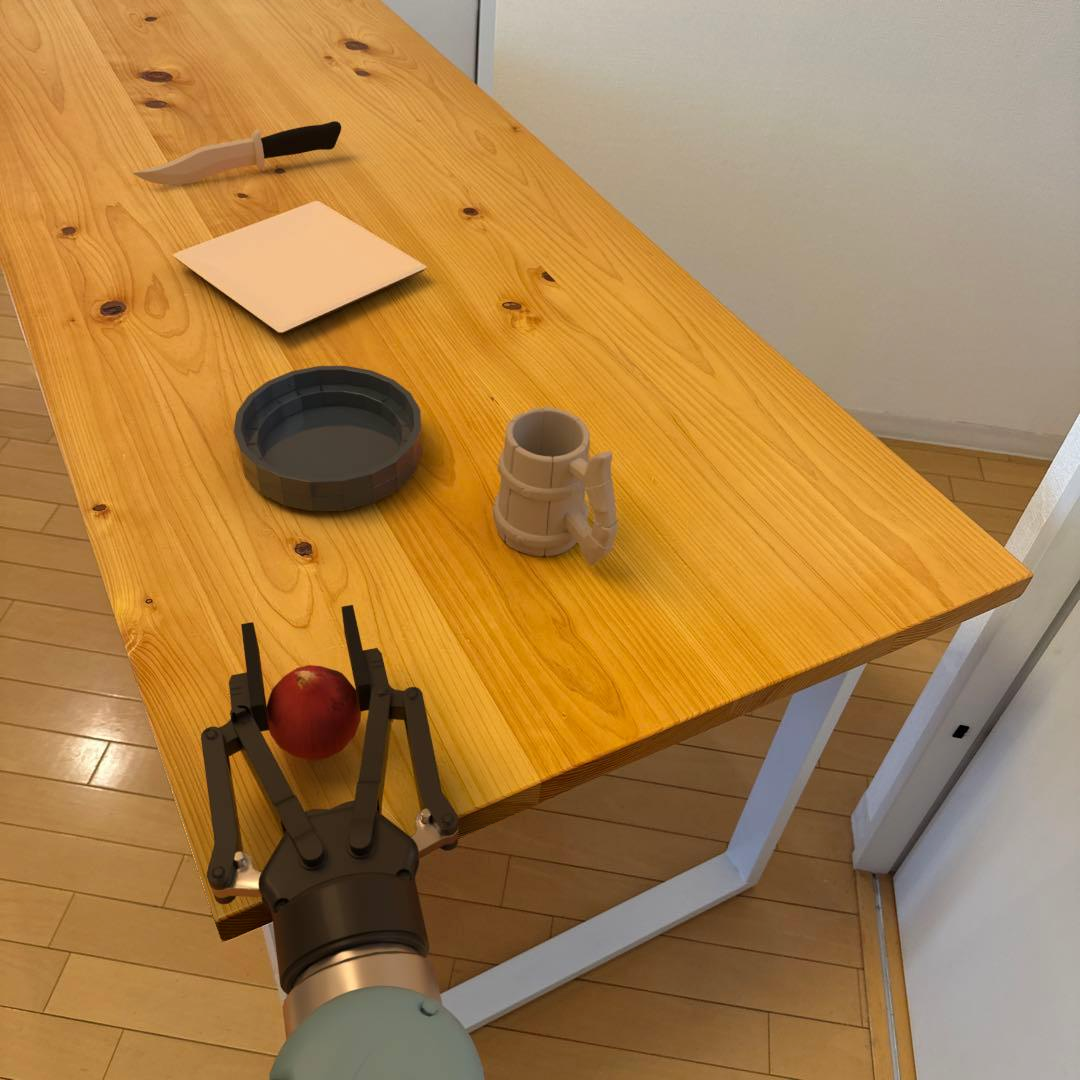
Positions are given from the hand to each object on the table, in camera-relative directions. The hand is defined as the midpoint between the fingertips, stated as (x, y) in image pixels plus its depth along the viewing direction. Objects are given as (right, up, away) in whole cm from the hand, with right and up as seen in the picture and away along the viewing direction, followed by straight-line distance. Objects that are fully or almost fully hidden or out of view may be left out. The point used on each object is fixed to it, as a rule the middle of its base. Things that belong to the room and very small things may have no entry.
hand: (299, 628), depth 65 cm
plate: (-9, +33, +41) cm, 53 cm away
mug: (+17, +6, +16) cm, 24 cm away
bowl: (-2, +13, +21) cm, 25 cm away
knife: (-20, +49, +55) cm, 77 cm away
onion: (+1, -8, +1) cm, 8 cm away
